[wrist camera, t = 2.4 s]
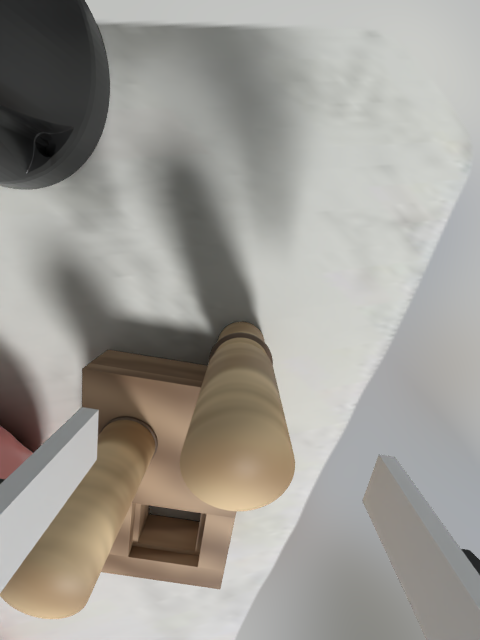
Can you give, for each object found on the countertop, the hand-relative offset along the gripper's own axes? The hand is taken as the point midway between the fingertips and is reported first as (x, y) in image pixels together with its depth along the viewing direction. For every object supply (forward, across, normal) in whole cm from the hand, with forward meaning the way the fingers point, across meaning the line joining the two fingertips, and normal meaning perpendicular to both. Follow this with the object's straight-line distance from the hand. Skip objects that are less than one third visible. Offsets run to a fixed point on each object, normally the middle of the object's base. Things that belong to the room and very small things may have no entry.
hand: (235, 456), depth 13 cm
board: (+12, -5, -12) cm, 18 cm away
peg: (+12, 0, +1) cm, 12 cm away
